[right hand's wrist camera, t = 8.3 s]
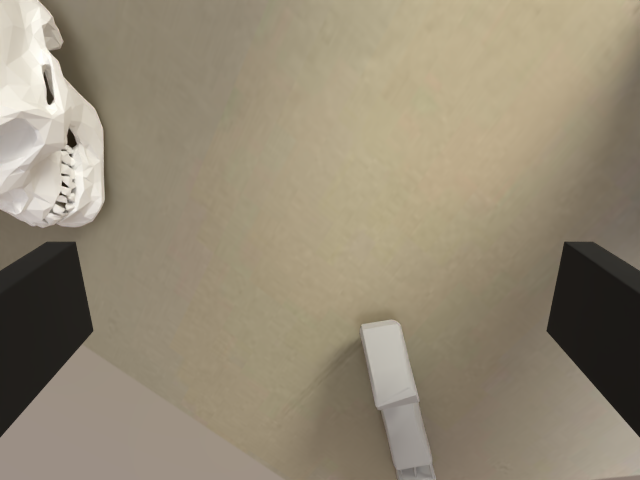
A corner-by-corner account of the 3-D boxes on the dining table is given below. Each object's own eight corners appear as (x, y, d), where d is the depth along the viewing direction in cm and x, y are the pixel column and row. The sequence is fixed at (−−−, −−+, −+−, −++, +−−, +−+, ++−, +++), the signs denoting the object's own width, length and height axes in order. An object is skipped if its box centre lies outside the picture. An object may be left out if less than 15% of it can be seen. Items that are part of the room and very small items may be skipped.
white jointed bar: (355, 317, 40) (363, 371, 34) (397, 308, 40) (412, 361, 34) (396, 465, 49) (408, 529, 43) (430, 458, 48) (447, 522, 42)
